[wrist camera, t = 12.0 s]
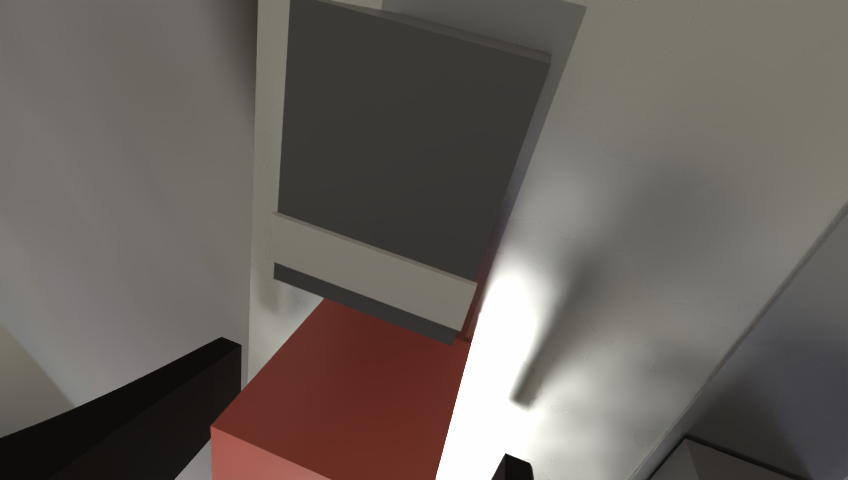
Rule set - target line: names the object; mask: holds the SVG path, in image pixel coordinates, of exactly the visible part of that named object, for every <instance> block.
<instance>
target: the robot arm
mask: <svg viewBox="0 0 848 480" xmlns="http://www.w3.org/2000/svg"><path fill="white" fill-rule="evenodd" d="M241 348H242V345H240V344H238V343H235V342H233V341H230V340H228V339H226V338H223V337H220V338H218V339H216V340H214V341H212V342H210V343H208V344H206V345H204V346H202V347H200V348H198V349H196V350H194V351H192V352H190V353H189V354H187V355H185V356H183V357H181V358H179V359H177V360H175V361H173V362H171V363H169V364H167V365H165V366H163V367H161V368H159V369H157V370H155V371H153V372H151V373H149V374H147V375H145V376H143V377H141V378H139V379H137V380H135V381H133V382H131V383H129V384H127V385H125V386H123V387H121V388H118V389H116V390H114V391H112V392H110V393H108V394H105V395H103V396H101V397H99V398H96V399H94V400H92V401H90V402H88V403H85V404H83V405H81V406H79V407H77V408H74V409H72V410H70V411H67V412H65V413H63V414H60V415H58V416H55V417H53V418H50V419H48V420H46V421H43V422H41V423H38V424H36V425H33V426H30V427H28V428H25V429H23V430H20V431H18V432H15V433H12V434H10V435H7V436H4V437H2V438H0V480H174V479H175V478H176V477H177V476H178V475H179V474H180V473H181V471H182V470H183V469H184V468H185V467H186V466H187V465H188V464H189V462H190V461H191V460H192V459H193V458H194V457H195V456H196V455H197V453H198V452H199V451H200V450H201V449H202V448H203V447H204V445H205V444H206V443H207V442H208V441H209V440H210V439H211V425H212V424H213V423H214V422H215V420H216V419H217V418H218V417H219V416H220V415H221V414H222V413H223V411H224V410H225V409H226V408H227V407H228V406H229V405H230V404H231V402H232V401H233V400H234V399H235V398H236V397H237V396H238V395H239V393H240V392H241ZM491 480H534V475H533V468H532V466H531V464H530V463H529V462H526V461H524V460H521V459H519V458H517V457H514V456H512V455H509V454H507V453H505V454H504V456H503V458H502V460H501V461H500V463H499V465H498V467H497V469H496V471H495V473H494V475H493V477H492V478H491Z"/></svg>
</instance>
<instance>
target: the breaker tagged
mask: <svg viewBox="0 0 848 480" xmlns="http://www.w3.org/2000/svg"><path fill="white" fill-rule="evenodd" d="M551 58H552V54H548V53H545V52H541V51H537V50H534V49H530V48H526V47H522V46H519V45H515V44H511V43H507V42H504V41H500V40H496V39H492V38H489V37H485V36H481V35H477V34H474V33H470V32H466V31H462V30H459V29H455V28H451V27H448V26H444V25H440V24H436V23H433V22H429V21H425V20H421V19H418V18H414V17H410V16H406V15H403V14H399V13H395V12H390V11H385V10H379V9H374V8H369V7H363V6H358V5H353V4H347V3H342V2H336V1H331V0H290V9H289V26H288V42H287V59H286V76H285V92H284V109H283V126H282V142H281V159H280V176H279V193H278V209H277V212H275V211H274V212H272V213H270V227H269V247H268V260H270V261H273V262H274V276H273V279H276V280H278V281H281V282H284V283H286V284H289V285H291V286H294V287H297V288H299V289H302V290H305V291H307V292H310V293H313V294H315V295H318V296H320V297H323V298H326V299H328V300H331V301H334V302H336V303H339V304H342V305H344V306H347V307H349V308H352V309H355V310H357V311H360V312H363V313H365V314H368V315H371V316H373V317H376V318H378V319H381V320H384V321H386V322H389V323H392V324H394V325H397V326H400V327H402V328H405V329H408V330H410V331H413V332H415V333H418V334H421V335H423V336H426V337H429V338H431V339H434V340H437V341H439V342H442V343H444V344H447V345H450V346H452V344H453V341H454V338H455V335H456V332H457V330H458V331H460V332H461V329H462V326H463V324H464V321H465V318H466V315H467V312H468V310H469V307H470V304H471V301H472V298H473V296H474V293H475V290H476V287H477V284H478V283H476V282H474V281H475V278H476V276H477V273H478V270H479V267H480V264H481V261H482V259H483V256H484V253H485V250H486V247H487V244H488V241H489V239H490V236H491V233H492V230H493V227H494V224H495V222H496V219H497V216H498V213H499V210H500V207H501V205H502V202H503V199H504V196H505V193H506V190H507V188H508V185H509V182H510V179H511V176H512V173H513V170H514V168H515V165H516V162H517V159H518V156H519V153H520V151H521V148H522V145H523V142H524V139H525V136H526V134H527V131H528V128H529V125H530V122H531V119H532V117H533V114H534V111H535V108H536V105H537V102H538V100H539V97H540V94H541V91H542V88H543V85H544V82H545V80H546V77H547V74H548V71H549V68H550V65H551Z"/></svg>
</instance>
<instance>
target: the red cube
mask: <svg viewBox="0 0 848 480" xmlns="http://www.w3.org/2000/svg"><path fill="white" fill-rule="evenodd" d="M471 346H472V344H471V343H468V342H465V341H463V340H460V339H457V338H454V341H453V344H452V346H450V345H447V344H444V343H442V342H439V341H437V340H434V339H431V338H429V337H426V336H423V335H421V334H418V333H415V332H413V331H410V330H408V329H405V328H402V327H400V326H397V325H394V324H392V323H389V322H386V321H384V320H381V319H378V318H376V317H373V316H371V315H368V314H365V313H363V312H360V311H357V310H355V309H352V308H349V307H347V306H344V305H342V304H339V303H336V302H334V301H331V300H328V299H326V298H324V299H323V300H322V301H321V302H320V304H319V305H318V306H317V307H316V308H315V309H314V310H313V311H312V313H311V314H310V315H309V316H308V317H307V318H306V319H305V320H304V321H303V323H302V324H301V325H300V326H299V327H298V328H297V329H296V330H295V332H294V333H293V334H292V335H291V336H290V337H289V338H288V339H287V341H286V342H285V343H284V344H283V345H282V346H281V347H280V348H279V350H278V351H277V352H276V353H275V354H274V355H273V356H272V357H271V359H270V360H269V361H268V362H267V363H266V364H265V365H264V366H263V368H262V369H261V370H260V371H259V372H258V373H257V374H256V375H255V377H254V378H253V379H252V380H251V381H250V382H249V383H248V384H247V386H246V387H245V388H244V389H243V390H242V391H241V392H240V393H239V395H238V396H237V397H236V398H235V399H234V400H233V401H232V402H231V404H230V405H229V406H228V407H227V408H226V409H225V410H224V411H223V413H222V414H221V415H220V416H219V417H218V418H217V419H216V420H215V422H214V423H213V424H212V425H211V450H212V476H213V480H436V477H437V473H438V469H439V466H440V462H441V458H442V454H443V451H444V447H445V443H446V439H447V436H448V432H449V428H450V424H451V421H452V417H453V413H454V409H455V406H456V402H457V398H458V394H459V391H460V387H461V383H462V379H463V376H464V372H465V368H466V364H467V361H468V357H469V353H470V349H471Z"/></svg>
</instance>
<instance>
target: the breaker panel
mask: <svg viewBox="0 0 848 480" xmlns="http://www.w3.org/2000/svg"><path fill="white" fill-rule="evenodd" d="M331 1H336V2H342V3H347V4H353V5H358V6H363V7H369V8H374V9H379V10H385V11H390V12H395V13H399V14H403V15H406V16H410V17H414V18H418V19H421V20H425V21H429V22H433V23H436V24H440V25H444V26H448V27H451V28H455V29H459V30H462V31H466V32H470V33H474V34H477V35H481V36H485V37H489V38H492V39H496V40H500V41H504V42H507V43H511V44H515V45H519V46H522V47H526V48H530V49H534V50H537V51H541V52H545V53H548V54H552V58H551V65H550V68H549V71H548V74H547V77H546V80H545V82H544V85H543V88H542V91H541V94H540V97H539V100H538V102H537V105H536V108H535V111H534V114H533V117H532V119H531V122H530V125H529V128H528V131H527V134H526V136H525V139H524V142H523V145H522V148H521V151H520V153H519V156H518V159H517V162H516V165H515V168H514V170H513V173H512V176H511V179H510V182H509V185H508V188H507V190H506V193H505V196H504V199H503V202H502V205H501V207H500V210H499V213H498V216H497V219H496V222H495V224H494V227H493V230H492V233H491V236H490V239H489V241H488V244H487V247H486V250H485V253H484V256H483V259H482V261H481V264H480V267H479V270H478V273H477V276H476V278H475V281H474V282H476V283H478V284H477V287H476V290H475V293H474V296H473V298H472V301H471V304H470V307H469V310H468V312H467V315H466V318H465V321H464V324H463V326H462V329H461V332H460V331H458V330H457V332H456V335H455V338H457V339H460V340H463V341H465V342H468V343H471V344H472V346H471V349H470V353H469V357H468V361H467V364H466V368H465V372H464V376H463V379H462V383H461V387H460V391H459V394H458V398H457V402H456V406H455V409H454V413H453V417H452V421H451V424H450V428H449V432H448V436H447V439H446V443H445V447H444V451H443V454H442V458H441V462H440V466H439V469H438V473H437V477H436V480H491V478H492V477H493V475H494V473H495V471H496V469H497V467H498V465H499V463H500V461H501V460H502V458H503V456H504V454H505V453H507V454H509V455H512V456H514V457H517V458H519V459H521V460H524V461H526V462H529V463H530V464H531V466H532V468H533V475H534V480H650V479H651V478H652V477H653V476H654V474H655V473H656V472H657V471H658V470H659V468H660V467H661V466H662V465H663V464H664V463H665V461H666V460H667V459H668V458H669V457H670V456H671V454H672V453H673V452H674V451H675V450H676V449H677V447H678V446H679V445H680V444H681V443H682V442H683V440H684V439H685V438H686V439H688V440H691V441H694V442H696V443H699V444H702V445H704V446H707V447H709V448H712V449H715V450H717V451H720V452H723V453H725V454H728V455H731V456H733V457H736V458H738V459H741V460H744V461H746V462H749V463H752V464H754V465H757V466H759V467H762V468H765V469H767V470H770V471H773V472H775V473H778V474H780V475H783V476H786V477H788V478H791V479H794V480H848V0H331ZM289 9H290V0H258V24H257V61H256V98H255V135H254V172H253V209H252V246H251V283H250V320H249V357H248V383H249V382H250V381H251V380H252V379H253V378H254V377H255V375H256V374H257V373H258V372H259V371H260V370H261V369H262V368H263V366H264V365H265V364H266V363H267V362H268V361H269V360H270V359H271V357H272V356H273V355H274V354H275V353H276V352H277V351H278V350H279V348H280V347H281V346H282V345H283V344H284V343H285V342H286V341H287V339H288V338H289V337H290V336H291V335H292V334H293V333H294V332H295V330H296V329H297V328H298V327H299V326H300V325H301V324H302V323H303V321H304V320H305V319H306V318H307V317H308V316H309V315H310V314H311V313H312V311H313V310H314V309H315V308H316V307H317V306H318V305H319V304H320V302H321V301H322V300H323V299H324V298H323V297H320V296H318V295H315V294H313V293H310V292H307V291H305V290H302V289H299V288H297V287H294V286H291V285H289V284H286V283H284V282H281V281H278V280H276V279H273V276H274V262H273V261H270V260H268V247H269V227H270V213H272V212H274V211H275V212H277V209H278V193H279V176H280V159H281V142H282V126H283V109H284V92H285V76H286V59H287V42H288V26H289Z"/></svg>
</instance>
